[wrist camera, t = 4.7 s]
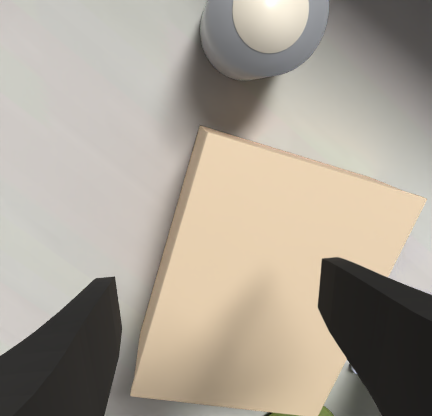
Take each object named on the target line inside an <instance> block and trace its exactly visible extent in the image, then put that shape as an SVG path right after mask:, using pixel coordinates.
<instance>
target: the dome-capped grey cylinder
mask: <svg viewBox="0 0 432 416" xmlns="http://www.w3.org/2000/svg"><path fill="white" fill-rule="evenodd" d="M328 15H329V0H207V3H206V5H205V8H204V11H203V14H202V17H201V23H200V37H201V43H202V47H203V50H204V52H205V55H206V56H207V58H208V60H209V61H210V63H211V64H212V65H213V66H214V67H215V69H216V70H218V71H219V72H220V73H222V74H223V75H225V76H227V77H229V78H231V79H235V80H241V81H247V80H254V79H259V78H265V77H270V76H276V75H281V74H284V73H287V72H289V71H292V70H294V69H295V68H297V67H298V66H300V65H301V64H302V63H304V62H305V61H306V60H307V59H308V58H309V57H310V56H311V55H312V54H313V52H314V51H315V49H316V48H317V46H318V45H319V43H320V41H321V39H322V37H323V34H324V32H325V29H326V25H327V21H328Z"/></svg>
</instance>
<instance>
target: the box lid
mask: <svg viewBox="0 0 432 416" xmlns="http://www.w3.org/2000/svg"><path fill="white" fill-rule="evenodd" d="M426 201H427V199H426V198H424V197H421V196H418V195H415V194H412V193H408V192H405V191H402V190H398V189H395V188H392V187H389V186H385V185H382V184H379V183H375V182H372V181H369V180H366V179H362V178H359V177H356V176H352V175H349V174H346V173H343V172H339V171H336V170H333V169H329V168H326V167H323V166H320V165H316V164H313V163H310V162H306V161H303V160H300V159H297V158H293V157H290V156H287V155H283V154H280V153H277V152H274V151H270V150H267V149H264V148H261V147H257V146H254V145H251V144H247V143H244V142H241V141H238V140H234V139H231V138H228V137H224V136H221V135H218V134H215V133H211V132H208V131H207V132H206V135H205V139H204V142H203V145H202V149H201V152H200V156H199V159H198V162H197V166H196V169H195V173H194V176H193V179H192V183H191V186H190V190H189V193H188V197H187V200H186V203H185V207H184V210H183V214H182V217H181V220H180V224H179V227H178V231H177V234H176V237H175V241H174V244H173V248H172V251H171V254H170V258H169V261H168V265H167V268H166V271H165V275H164V278H163V282H162V285H161V288H160V292H159V295H158V299H157V302H156V305H155V309H154V312H153V316H152V319H151V322H150V326H149V329H148V333H147V336H146V339H145V343H144V346H143V350H142V353H141V356H140V360H139V363H138V367H137V370H136V373H135V377H134V380H133V384H132V387H131V393H130V396H132V397H141V398H150V399H159V400H167V401H176V402H185V403H194V404H203V405H211V406H220V407H229V408H238V409H246V410H255V411H264V412H273V413H281V414H290V415H299V416H318V415H319V413H320V411H321V409H322V407H323V405H324V403H325V401H326V399H327V397H328V395H329V393H330V391H331V389H332V387H333V385H334V383H335V381H336V379H337V377H338V375H339V373H340V371H341V369H342V367H343V365H344V364H345V362H346V360H347V358H346V357H345V355H344V354H343V352H342V351H341V349H340V348H339V346H338V345H337V343H336V342H335V340H334V338H333V337H332V335H331V334H330V332H329V330H328V328H327V326H326V324H325V322H324V320H323V318H322V316H321V314H320V312H319V309H318V297H319V286H320V274H321V262H322V258H333V257H340V258H343V259H346V260H348V261H351V262H353V263H356V264H358V265H360V266H363V267H365V268H367V269H369V270H372V271H374V272H376V273H379V274H381V275H383V276H385V277H388V276H389V274H390V272H391V270H392V268H393V266H394V264H395V262H396V260H397V258H398V256H399V254H400V252H401V250H402V248H403V246H404V244H405V242H406V240H407V238H408V236H409V234H410V232H411V230H412V228H413V226H414V224H415V222H416V220H417V218H418V217H419V215H420V213H421V211H422V209H423V207H424V205H425V203H426Z"/></svg>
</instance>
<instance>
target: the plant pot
mask: <svg viewBox="0 0 432 416" xmlns="http://www.w3.org/2000/svg"><path fill="white" fill-rule="evenodd" d="M269 416H299V415H290V414H281V413H272V414H270V415H269ZM318 416H334V415H333V414H332V413H331V412H330V411H329V410H328V409H327V408H326V407H325V406H323V407H322V409H321V411H320V413H319V415H318Z"/></svg>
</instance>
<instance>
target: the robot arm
mask: <svg viewBox="0 0 432 416" xmlns="http://www.w3.org/2000/svg"><path fill="white" fill-rule="evenodd" d="M318 309H319V312H320V314H321V316H322V318H323V320H324V322H325V324H326V326H327V328H328V330H329V332H330V334H331V335H332V337H333V338H334V340H335V342H336V343H337V345H338V346H339V348H340V349H341V351H342V352H343V354H344V355H345V357H346V358H347V360H348V361H349V363H350V364H351V366H352V367H351V369H352V371H353V372H354V373H355V374H357V375H358V376H359V378H360V379H361V380H362V382H363V383H364V385H365V386H366V388H367V390H368V391H369V393H370V395H371V396H372V398H373V399H374V401H375V403H376V405H377V407H378V409H379V411H380V412H381V414H382V416H432V295H431V294H427V293H425V292H422V291H420V290H417V289H414V288H412V287H409V286H407V285H404V284H402V283H399V282H397V281H395V280H392V279H390V278H388V277H385V276H383V275H381V274H379V273H376V272H374V271H372V270H369V269H367V268H365V267H363V266H360V265H358V264H356V263H353V262H351V261H348V260H346V259H343V258H340V257H333V258H322V262H321V274H320V286H319V297H318ZM121 333H122V324H121V317H120V310H119V303H118V296H117V289H116V282H115V277H106V278H96V279H95V280H93V281H92V282H91V283H90V284H89V285H88V286H87V287H86V288H85V289H84V290H82V291H81V292H80V293H79V294H78V295H77V296H76V297H75V298H74V299H73V300H72V301H71V302H69V303H68V304H67V305H66V306H65V307H64V308H63V309H62V310H61V311H59V312H58V313H57V314H56V315H55V316H53V317H52V318H51V319H50V320H49V321H47V322H46V323H45V324H44V325H42V326H41V327H40V328H39V329H38V330H36V331H35V332H34V333H32V334H31V335H30V336H28V337H27V338H26V339H24V340H23V341H22V342H20V343H19V344H17V345H16V346H14V347H13V348H11V349H10V350H9V351H7V352H6V353H4V354H3V355H1V356H0V416H104V414H105V410H106V406H107V402H108V398H109V394H110V390H111V386H112V382H113V378H114V374H115V370H116V366H117V362H118V357H119V351H120V342H121Z"/></svg>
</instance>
